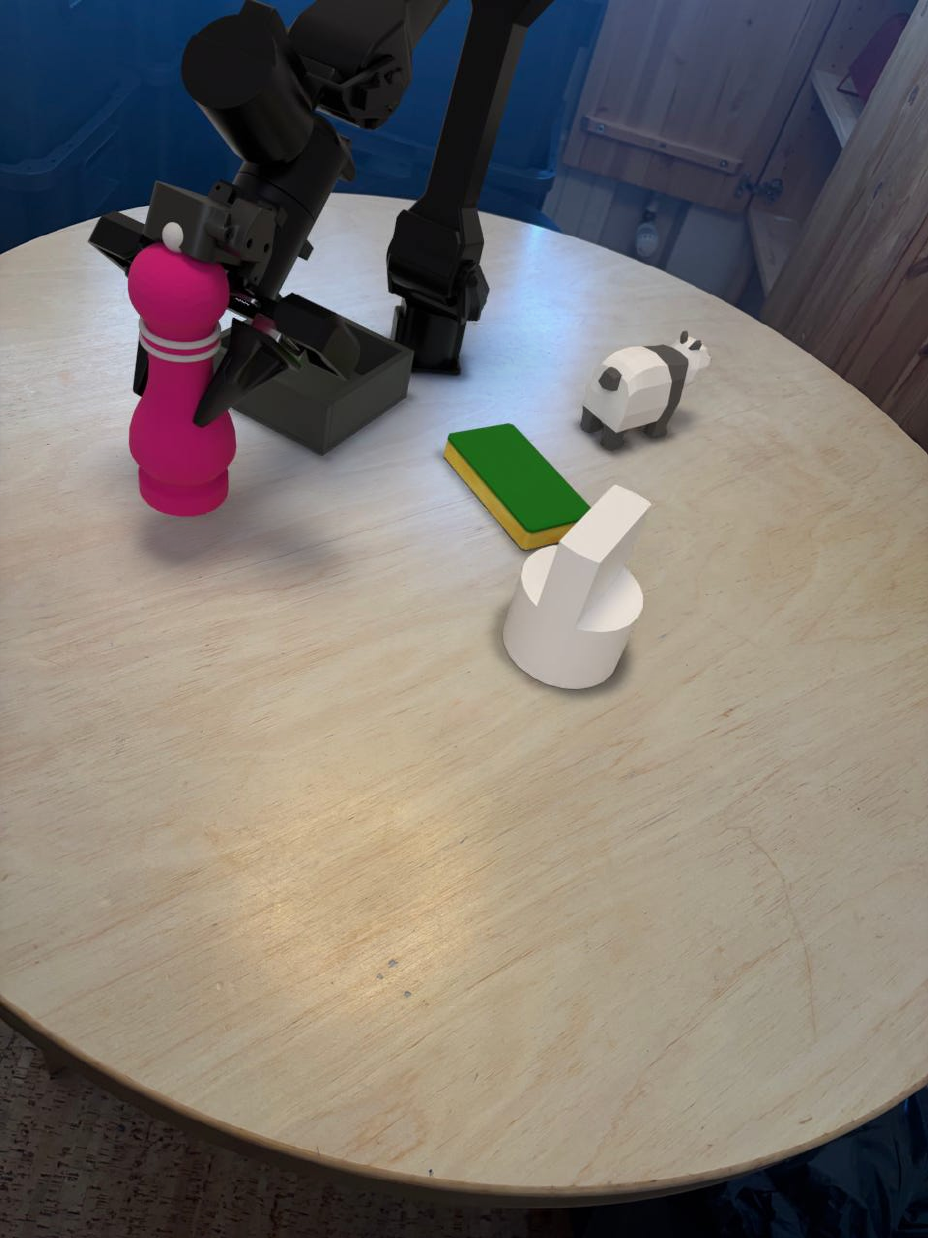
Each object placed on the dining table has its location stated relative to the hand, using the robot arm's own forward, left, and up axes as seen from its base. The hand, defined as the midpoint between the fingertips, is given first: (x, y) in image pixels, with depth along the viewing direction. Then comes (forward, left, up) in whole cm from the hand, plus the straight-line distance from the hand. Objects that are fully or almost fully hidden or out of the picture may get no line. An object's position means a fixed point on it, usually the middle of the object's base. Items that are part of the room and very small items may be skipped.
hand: (167, 410), depth 63 cm
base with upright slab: (-29, +10, -12) cm, 33 cm away
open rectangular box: (-11, -22, -12) cm, 27 cm away
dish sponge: (-29, -8, -12) cm, 32 cm away
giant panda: (-44, -20, -12) cm, 50 cm away
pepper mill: (-1, -1, -8) cm, 8 cm away
